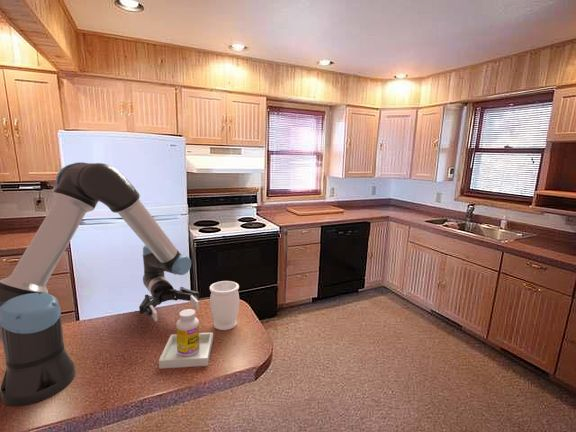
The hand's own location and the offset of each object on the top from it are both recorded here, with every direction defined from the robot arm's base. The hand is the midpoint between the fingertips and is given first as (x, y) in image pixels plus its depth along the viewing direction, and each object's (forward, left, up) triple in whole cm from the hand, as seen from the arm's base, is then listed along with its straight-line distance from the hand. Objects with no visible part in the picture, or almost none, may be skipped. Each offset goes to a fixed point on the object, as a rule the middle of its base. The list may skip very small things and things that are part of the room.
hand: (177, 311), depth 99 cm
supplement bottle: (+5, -8, -10) cm, 13 cm away
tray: (+5, -8, -10) cm, 14 cm away
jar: (+15, +8, -10) cm, 20 cm away
